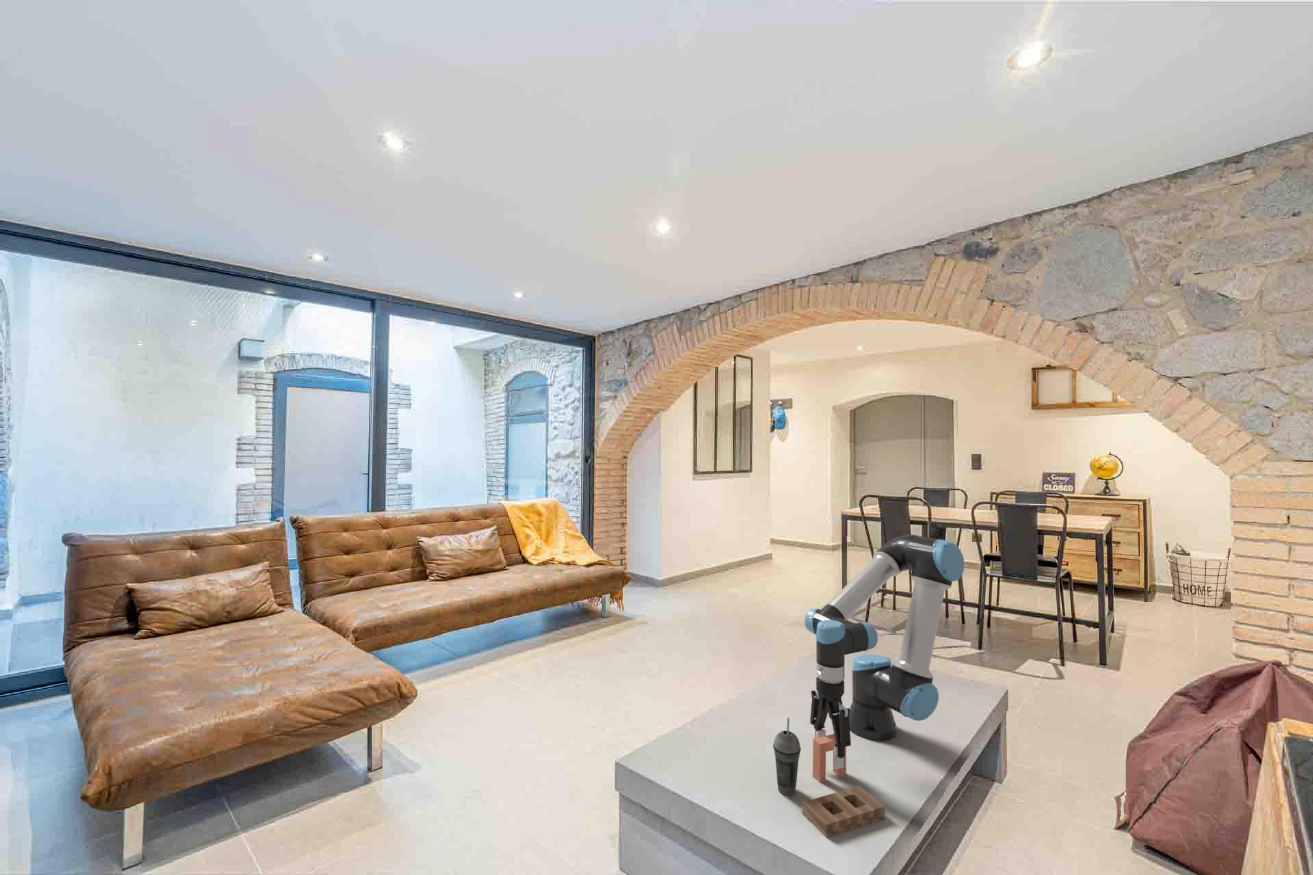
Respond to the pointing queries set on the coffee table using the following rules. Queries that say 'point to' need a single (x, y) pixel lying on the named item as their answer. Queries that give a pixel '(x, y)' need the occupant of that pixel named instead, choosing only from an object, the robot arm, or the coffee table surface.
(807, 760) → the coffee table surface
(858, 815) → the slotted wooden board
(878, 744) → the coffee table surface
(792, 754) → the beverage cup
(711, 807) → the coffee table surface
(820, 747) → the block
